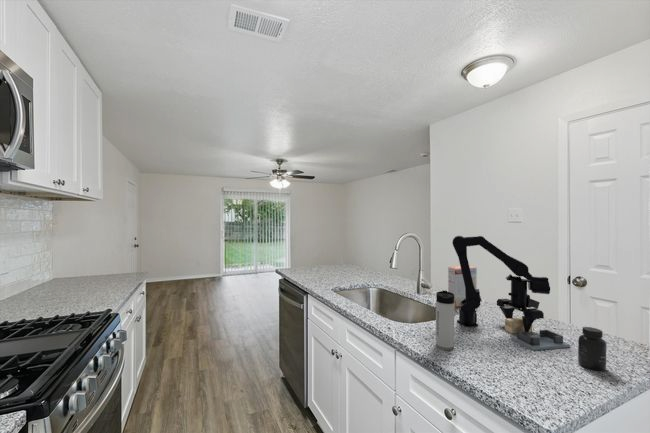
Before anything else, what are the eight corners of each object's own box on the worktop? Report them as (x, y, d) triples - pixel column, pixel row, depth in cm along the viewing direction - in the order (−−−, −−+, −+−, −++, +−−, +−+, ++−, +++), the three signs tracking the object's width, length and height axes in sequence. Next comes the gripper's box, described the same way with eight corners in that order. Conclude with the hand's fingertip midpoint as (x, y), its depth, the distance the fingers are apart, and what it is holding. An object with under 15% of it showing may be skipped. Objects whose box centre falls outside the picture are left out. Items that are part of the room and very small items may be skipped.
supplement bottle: (608, 374, 92) (609, 335, 92) (580, 367, 96) (580, 330, 96) (603, 364, 98) (603, 328, 98) (576, 359, 102) (576, 323, 102)
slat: (511, 333, 124) (511, 321, 124) (504, 330, 127) (505, 318, 127) (532, 332, 126) (532, 320, 126) (524, 328, 129) (525, 317, 129)
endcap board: (533, 350, 108) (533, 340, 108) (511, 339, 118) (511, 330, 118) (570, 347, 111) (570, 337, 111) (545, 336, 121) (545, 327, 121)
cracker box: (468, 303, 167) (469, 265, 167) (477, 306, 161) (477, 267, 161) (447, 304, 163) (447, 266, 163) (455, 308, 157) (455, 268, 157)
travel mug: (453, 344, 112) (453, 291, 112) (454, 351, 106) (455, 295, 106) (435, 341, 114) (436, 289, 114) (435, 349, 108) (436, 293, 108)
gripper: (555, 296, 119) (555, 336, 119) (517, 285, 137) (516, 319, 137) (531, 297, 117) (531, 337, 117) (496, 286, 135) (495, 321, 135)
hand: (518, 328), depth 127 cm, fingers open, 8 cm apart
